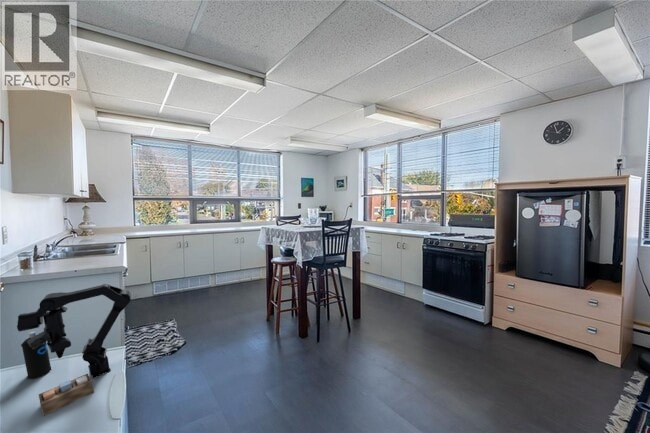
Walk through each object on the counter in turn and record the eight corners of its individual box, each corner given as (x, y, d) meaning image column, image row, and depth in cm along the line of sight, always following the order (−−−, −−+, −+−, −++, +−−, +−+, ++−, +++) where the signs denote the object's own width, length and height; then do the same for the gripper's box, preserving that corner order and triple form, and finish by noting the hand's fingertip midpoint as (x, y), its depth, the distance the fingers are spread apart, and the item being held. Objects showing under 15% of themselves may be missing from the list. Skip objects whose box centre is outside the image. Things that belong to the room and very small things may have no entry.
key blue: (71, 387, 120) (69, 379, 120) (72, 391, 118) (71, 382, 118) (60, 392, 118) (59, 383, 117) (62, 396, 116) (60, 387, 115)
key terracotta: (55, 397, 117) (53, 388, 116) (56, 401, 114) (55, 392, 114) (44, 402, 114) (42, 393, 114) (45, 406, 112) (43, 397, 112)
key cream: (86, 383, 124) (85, 375, 124) (88, 386, 122) (87, 378, 121) (77, 387, 122) (75, 379, 121) (78, 390, 120) (77, 382, 119)
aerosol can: (23, 381, 130) (15, 339, 127) (31, 370, 137) (23, 330, 134) (48, 375, 133) (40, 334, 130) (54, 365, 141) (47, 326, 138)
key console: (89, 384, 127) (87, 373, 126) (93, 392, 122) (92, 381, 121) (40, 405, 115) (38, 394, 114) (43, 416, 110) (41, 404, 109)
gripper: (24, 324, 124) (30, 358, 126) (30, 339, 112) (37, 376, 114) (59, 314, 132) (64, 346, 134) (68, 327, 120) (74, 362, 123)
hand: (60, 357), depth 126 cm, fingers closed
